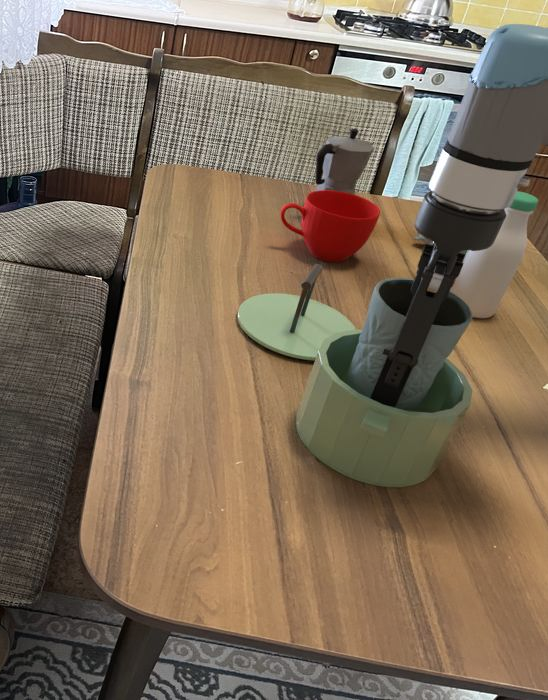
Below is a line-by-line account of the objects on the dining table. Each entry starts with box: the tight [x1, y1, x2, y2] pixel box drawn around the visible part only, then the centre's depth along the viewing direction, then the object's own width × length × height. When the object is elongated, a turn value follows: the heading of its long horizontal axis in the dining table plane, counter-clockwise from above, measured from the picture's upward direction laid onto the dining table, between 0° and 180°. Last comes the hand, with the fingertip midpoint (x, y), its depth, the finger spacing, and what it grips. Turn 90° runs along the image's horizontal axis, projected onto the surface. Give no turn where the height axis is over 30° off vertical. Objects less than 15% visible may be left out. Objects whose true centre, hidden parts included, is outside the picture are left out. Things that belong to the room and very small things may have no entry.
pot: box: [295, 328, 473, 488], centre depth 82 cm, size 17×22×10 cm
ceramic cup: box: [279, 190, 381, 263], centre depth 125 cm, size 13×17×10 cm
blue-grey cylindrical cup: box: [348, 277, 473, 409], centre depth 77 cm, size 10×10×12 cm
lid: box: [237, 263, 357, 362], centre depth 102 cm, size 18×18×10 cm
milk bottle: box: [450, 190, 539, 319], centre depth 110 cm, size 8×8×20 cm
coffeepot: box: [314, 128, 375, 195], centre depth 139 cm, size 15×9×18 cm, turn 122°
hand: (389, 381), depth 80 cm, fingers closed on blue-grey cylindrical cup, 9 cm apart
